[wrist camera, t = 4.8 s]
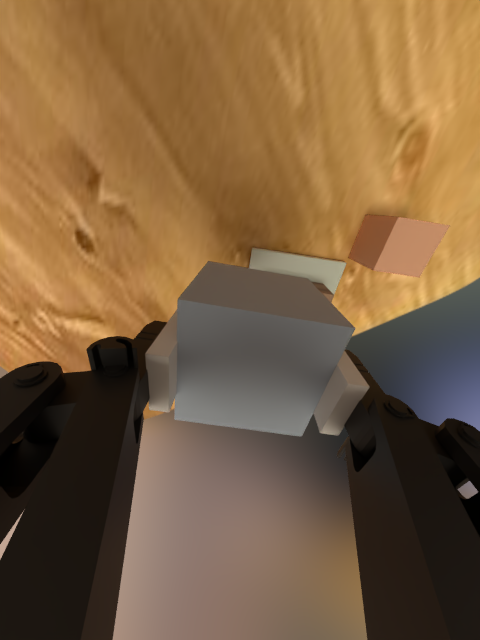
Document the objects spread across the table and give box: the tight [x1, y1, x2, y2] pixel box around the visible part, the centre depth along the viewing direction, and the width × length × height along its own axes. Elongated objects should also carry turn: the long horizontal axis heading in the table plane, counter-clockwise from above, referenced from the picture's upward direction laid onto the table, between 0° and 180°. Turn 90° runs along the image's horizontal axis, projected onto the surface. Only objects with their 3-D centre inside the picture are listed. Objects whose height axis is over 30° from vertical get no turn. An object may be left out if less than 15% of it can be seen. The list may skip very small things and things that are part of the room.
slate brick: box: [175, 261, 355, 436], centre depth 11 cm, size 6×6×6 cm
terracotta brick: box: [348, 215, 450, 277], centre depth 23 cm, size 5×5×6 cm
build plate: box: [249, 247, 346, 294], centre depth 29 cm, size 12×12×1 cm
